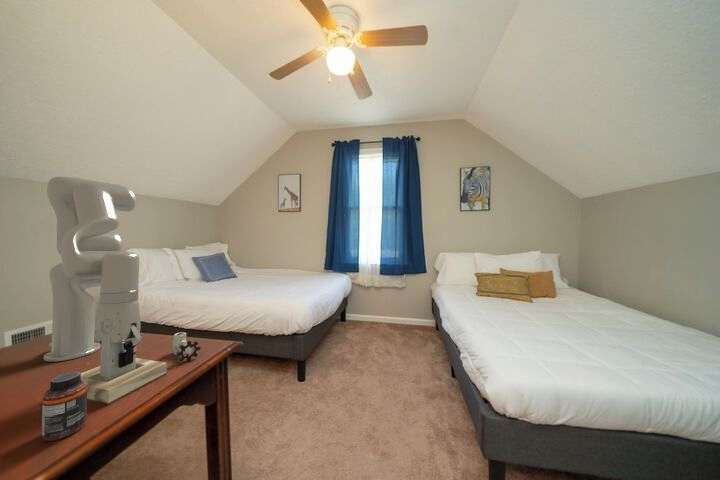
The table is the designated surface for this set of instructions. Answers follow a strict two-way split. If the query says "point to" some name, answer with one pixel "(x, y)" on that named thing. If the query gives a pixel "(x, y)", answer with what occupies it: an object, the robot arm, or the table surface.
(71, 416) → the supplement bottle
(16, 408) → the table surface
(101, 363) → the skincare box
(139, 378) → the socket block
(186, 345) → the valve
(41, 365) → the table surface
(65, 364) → the table surface
